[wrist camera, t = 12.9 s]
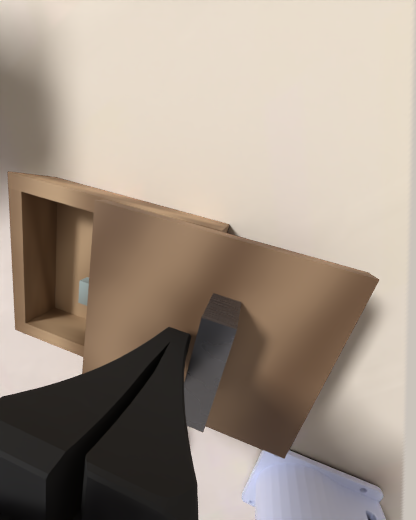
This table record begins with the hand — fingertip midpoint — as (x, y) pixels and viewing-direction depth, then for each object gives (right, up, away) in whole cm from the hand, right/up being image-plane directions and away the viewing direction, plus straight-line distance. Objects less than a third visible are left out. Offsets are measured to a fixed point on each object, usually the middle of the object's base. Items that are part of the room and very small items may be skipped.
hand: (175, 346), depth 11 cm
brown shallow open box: (-5, +3, +6) cm, 9 cm away
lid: (+1, 0, +2) cm, 2 cm away
